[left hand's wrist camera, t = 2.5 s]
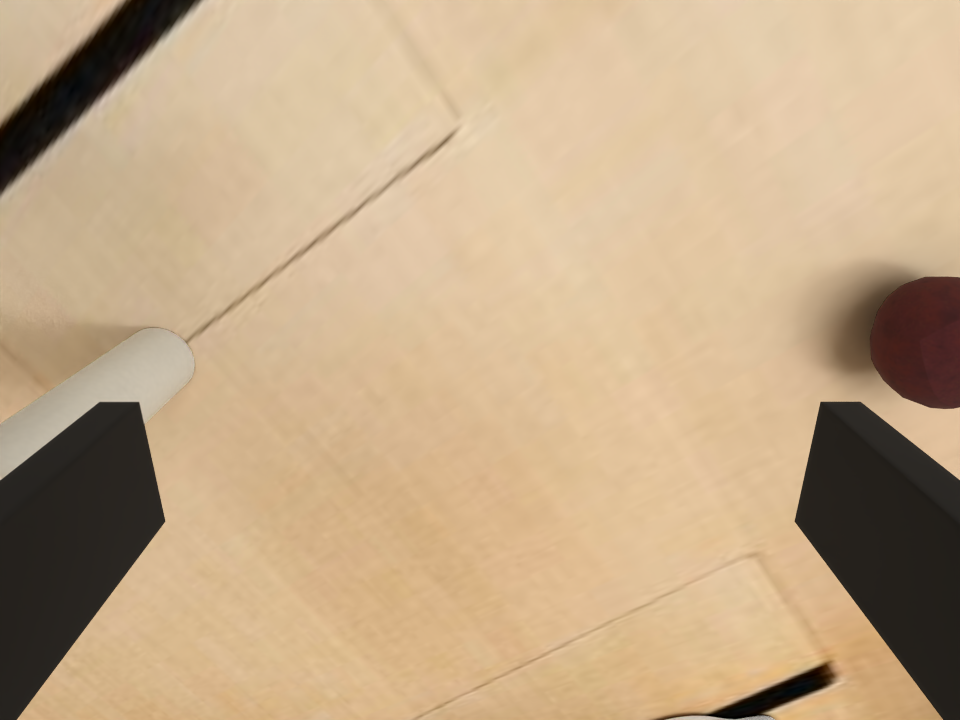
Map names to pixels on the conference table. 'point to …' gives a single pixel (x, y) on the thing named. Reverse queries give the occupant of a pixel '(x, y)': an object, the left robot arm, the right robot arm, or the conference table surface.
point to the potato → (920, 341)
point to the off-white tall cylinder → (101, 391)
